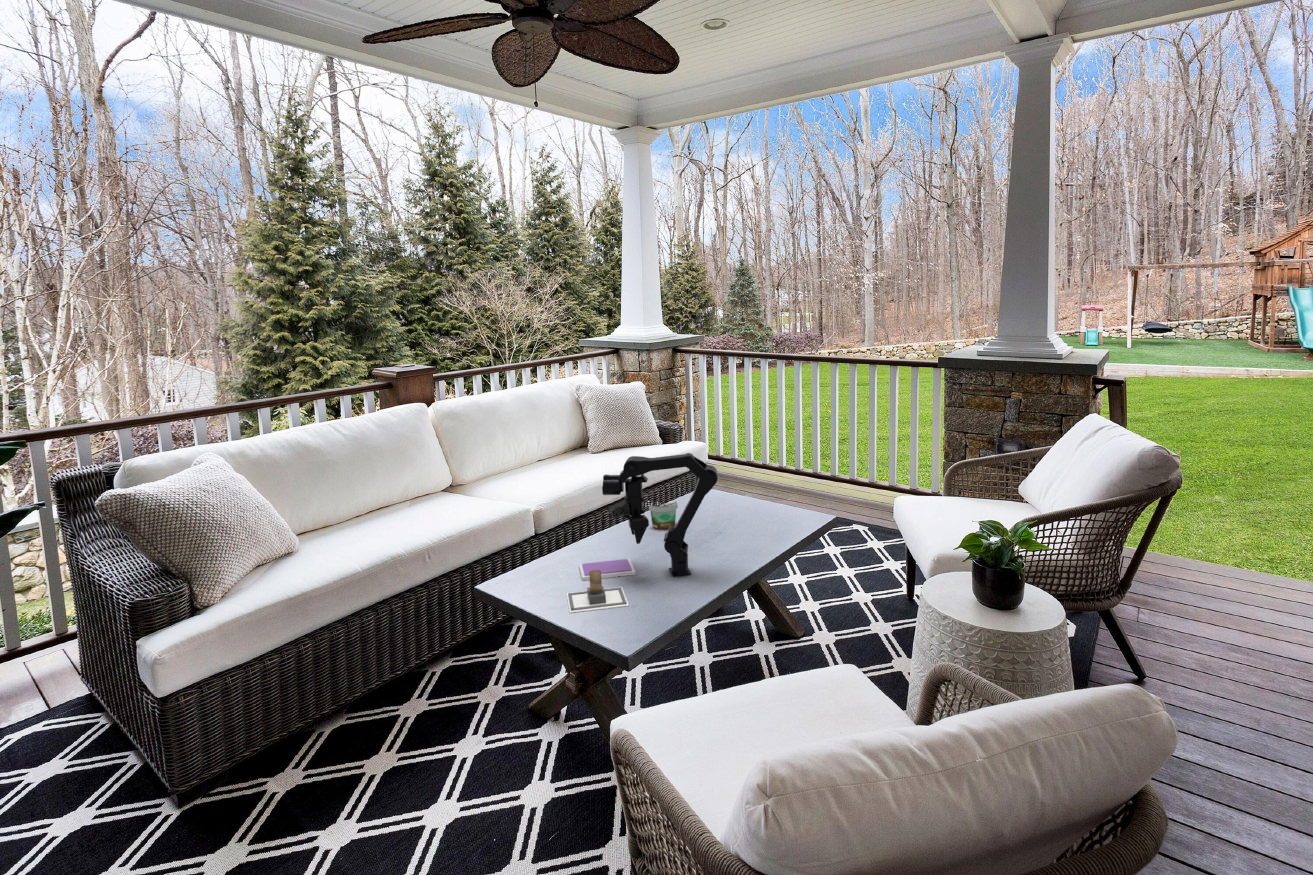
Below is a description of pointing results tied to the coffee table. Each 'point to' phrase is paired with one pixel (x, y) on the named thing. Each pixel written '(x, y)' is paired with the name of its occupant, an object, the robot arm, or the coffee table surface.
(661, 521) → the food container
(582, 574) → the ink pad
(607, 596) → the marked board
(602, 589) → the stamp
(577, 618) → the coffee table surface
